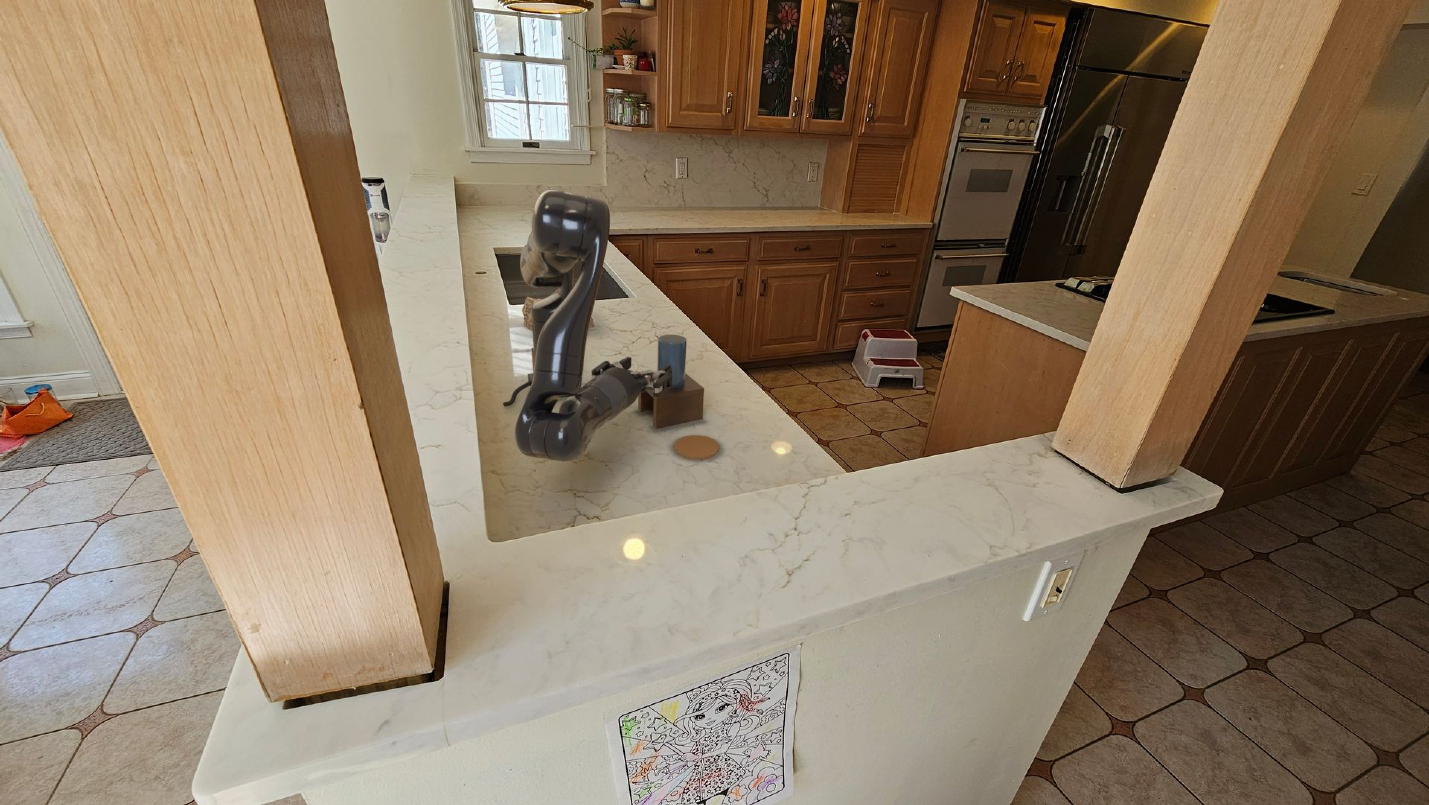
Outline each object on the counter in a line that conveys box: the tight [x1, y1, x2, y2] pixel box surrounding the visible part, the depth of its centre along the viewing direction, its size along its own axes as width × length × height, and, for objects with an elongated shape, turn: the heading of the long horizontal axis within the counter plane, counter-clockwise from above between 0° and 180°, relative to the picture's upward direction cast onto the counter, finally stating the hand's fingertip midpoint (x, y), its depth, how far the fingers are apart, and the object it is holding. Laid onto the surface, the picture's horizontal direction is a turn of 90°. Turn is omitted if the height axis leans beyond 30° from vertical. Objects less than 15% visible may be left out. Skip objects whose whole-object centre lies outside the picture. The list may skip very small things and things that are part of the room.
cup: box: [656, 334, 688, 389], centre depth 129 cm, size 6×6×10 cm
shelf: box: [637, 372, 705, 430], centre depth 132 cm, size 11×10×8 cm
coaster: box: [673, 434, 720, 461], centre depth 122 cm, size 9×9×1 cm
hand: (649, 365), depth 118 cm, fingers open, 8 cm apart
